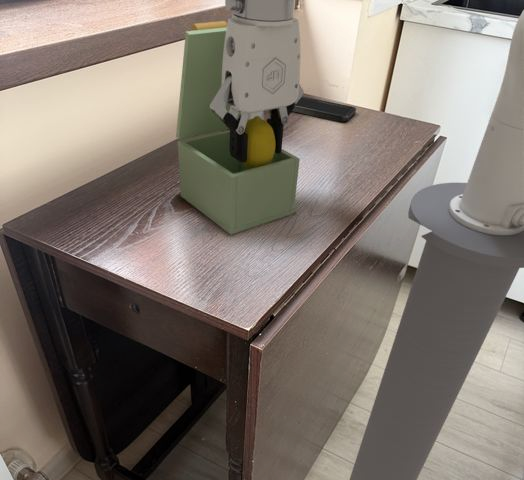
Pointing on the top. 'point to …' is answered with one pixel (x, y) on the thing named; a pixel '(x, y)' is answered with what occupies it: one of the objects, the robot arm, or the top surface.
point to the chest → (235, 183)
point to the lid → (201, 80)
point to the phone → (324, 109)
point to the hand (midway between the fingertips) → (256, 153)
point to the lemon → (259, 143)
